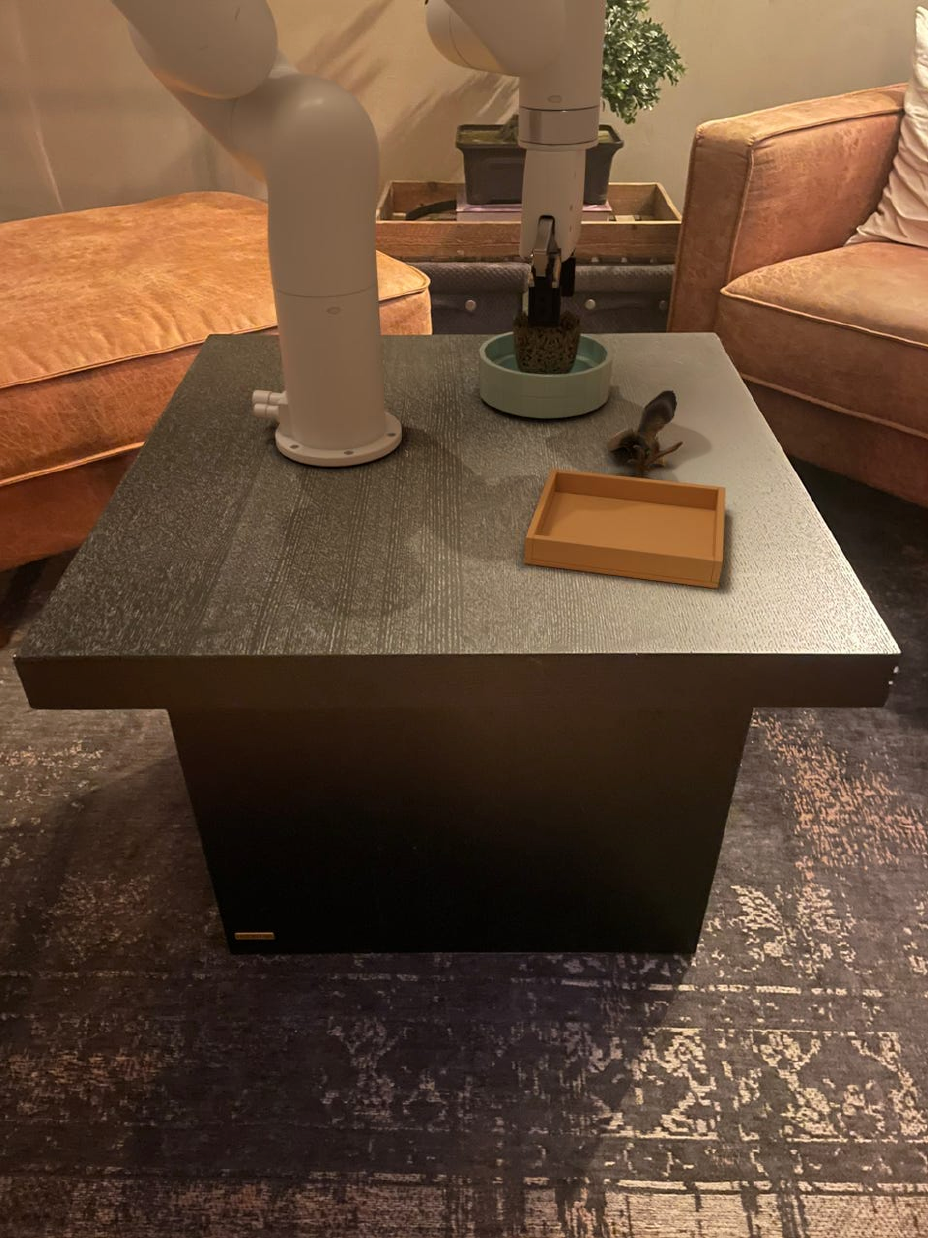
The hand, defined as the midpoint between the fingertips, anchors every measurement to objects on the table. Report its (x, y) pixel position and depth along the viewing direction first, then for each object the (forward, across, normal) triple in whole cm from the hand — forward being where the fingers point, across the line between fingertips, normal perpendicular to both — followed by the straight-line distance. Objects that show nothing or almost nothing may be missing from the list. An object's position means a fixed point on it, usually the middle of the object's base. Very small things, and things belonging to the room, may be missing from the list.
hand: (551, 310), depth 96 cm
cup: (+9, 0, 0) cm, 9 cm away
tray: (+9, +28, +12) cm, 32 cm away
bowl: (+9, 0, 0) cm, 9 cm away
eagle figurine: (+10, +14, +12) cm, 21 cm away
